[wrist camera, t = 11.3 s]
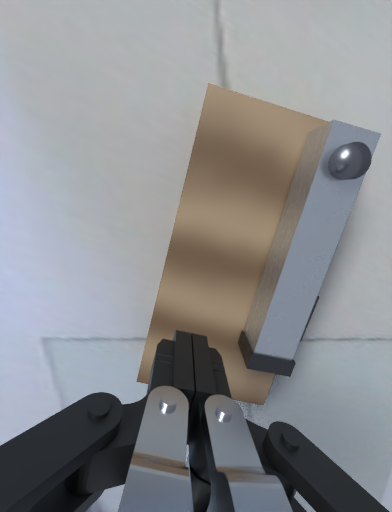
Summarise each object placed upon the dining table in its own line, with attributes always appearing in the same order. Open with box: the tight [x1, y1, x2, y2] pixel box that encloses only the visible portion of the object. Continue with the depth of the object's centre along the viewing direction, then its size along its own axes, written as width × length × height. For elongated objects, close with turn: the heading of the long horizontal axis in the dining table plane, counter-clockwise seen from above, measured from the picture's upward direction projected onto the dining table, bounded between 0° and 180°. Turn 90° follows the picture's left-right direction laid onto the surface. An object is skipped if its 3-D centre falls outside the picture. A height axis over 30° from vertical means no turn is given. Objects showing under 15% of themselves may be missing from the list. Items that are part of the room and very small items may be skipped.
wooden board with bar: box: [137, 83, 328, 405], centre depth 20 cm, size 24×12×4 cm, turn 165°
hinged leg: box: [238, 120, 381, 377], centre depth 17 cm, size 17×3×4 cm, turn 166°
